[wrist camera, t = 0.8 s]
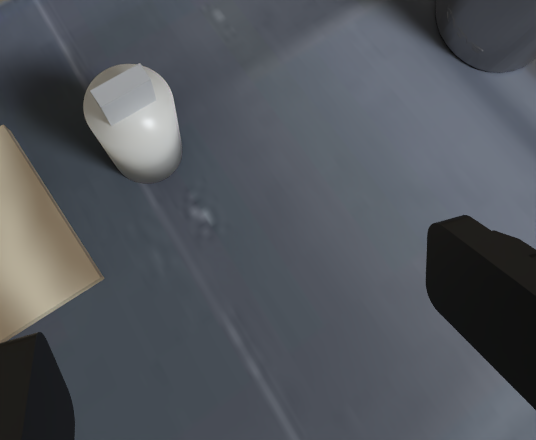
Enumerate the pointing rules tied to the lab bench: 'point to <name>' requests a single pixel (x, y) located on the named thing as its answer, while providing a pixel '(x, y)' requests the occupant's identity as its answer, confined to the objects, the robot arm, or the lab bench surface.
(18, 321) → the board
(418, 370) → the lab bench surface
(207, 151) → the lab bench surface
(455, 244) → the robot arm
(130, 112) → the white bottle
